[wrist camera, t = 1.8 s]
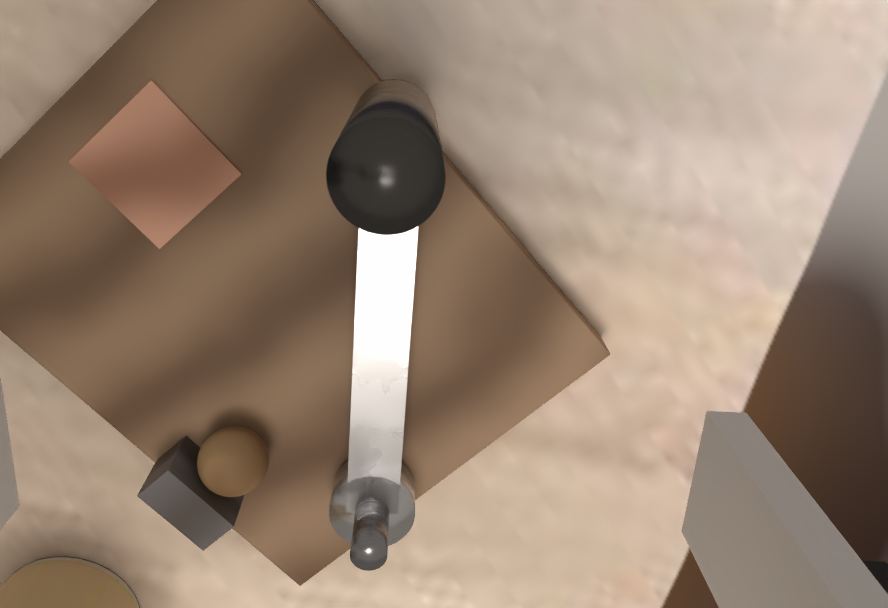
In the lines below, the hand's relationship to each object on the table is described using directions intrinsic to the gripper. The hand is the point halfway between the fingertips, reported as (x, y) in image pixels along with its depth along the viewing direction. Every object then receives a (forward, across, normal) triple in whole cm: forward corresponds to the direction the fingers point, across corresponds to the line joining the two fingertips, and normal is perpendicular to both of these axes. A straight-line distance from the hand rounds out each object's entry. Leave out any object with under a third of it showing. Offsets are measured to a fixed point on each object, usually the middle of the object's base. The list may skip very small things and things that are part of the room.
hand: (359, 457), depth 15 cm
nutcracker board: (+22, -5, -5) cm, 24 cm away
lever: (+20, 0, -6) cm, 21 cm away
